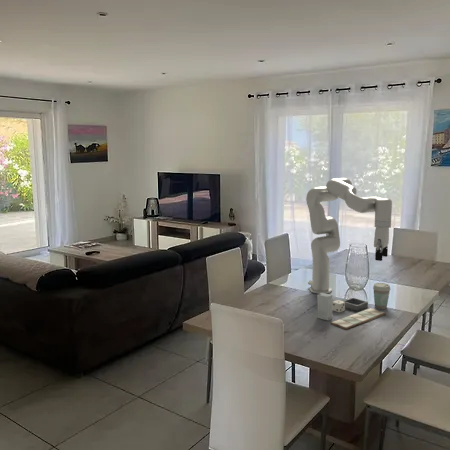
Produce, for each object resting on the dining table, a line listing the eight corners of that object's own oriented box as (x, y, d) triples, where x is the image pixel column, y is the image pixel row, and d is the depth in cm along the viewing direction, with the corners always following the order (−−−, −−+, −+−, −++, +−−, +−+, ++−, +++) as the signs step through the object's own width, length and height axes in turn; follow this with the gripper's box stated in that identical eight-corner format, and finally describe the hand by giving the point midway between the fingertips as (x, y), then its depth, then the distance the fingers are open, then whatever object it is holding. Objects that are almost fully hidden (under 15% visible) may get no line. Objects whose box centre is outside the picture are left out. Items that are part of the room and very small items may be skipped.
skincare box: (332, 318, 220) (333, 294, 218) (327, 321, 217) (328, 297, 215) (321, 315, 224) (321, 292, 222) (316, 318, 221) (317, 294, 219)
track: (330, 323, 214) (330, 321, 213) (370, 309, 231) (370, 307, 231) (346, 329, 206) (346, 327, 206) (385, 314, 224) (385, 312, 224)
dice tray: (342, 306, 236) (342, 301, 235) (353, 303, 241) (353, 297, 241) (356, 311, 229) (356, 305, 228) (367, 307, 234) (367, 302, 234)
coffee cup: (378, 311, 229) (379, 288, 227) (368, 305, 237) (369, 283, 235) (393, 309, 231) (394, 286, 229) (383, 303, 239) (384, 281, 237)
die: (331, 310, 232) (332, 301, 231) (337, 308, 234) (338, 299, 233) (339, 312, 228) (339, 304, 227) (345, 310, 231) (345, 302, 230)
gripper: (379, 220, 229) (378, 253, 232) (369, 226, 215) (368, 261, 218) (395, 221, 225) (393, 255, 228) (386, 227, 211) (384, 263, 214)
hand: (381, 258), depth 223 cm, fingers open, 9 cm apart
